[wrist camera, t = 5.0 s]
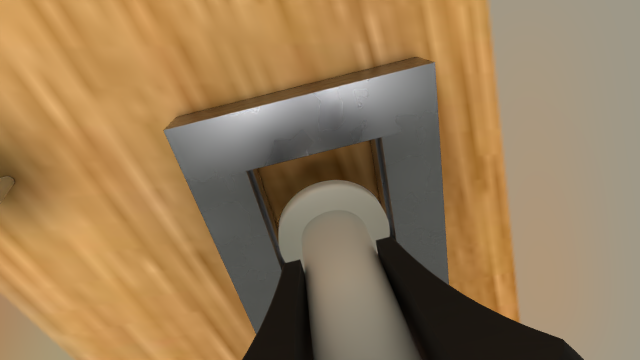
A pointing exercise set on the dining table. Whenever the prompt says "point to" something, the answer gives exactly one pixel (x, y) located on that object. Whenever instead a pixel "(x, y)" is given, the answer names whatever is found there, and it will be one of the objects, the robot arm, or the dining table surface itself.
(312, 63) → the dining table surface
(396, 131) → the keyhole plate
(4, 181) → the ice cream cone
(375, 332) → the peg
